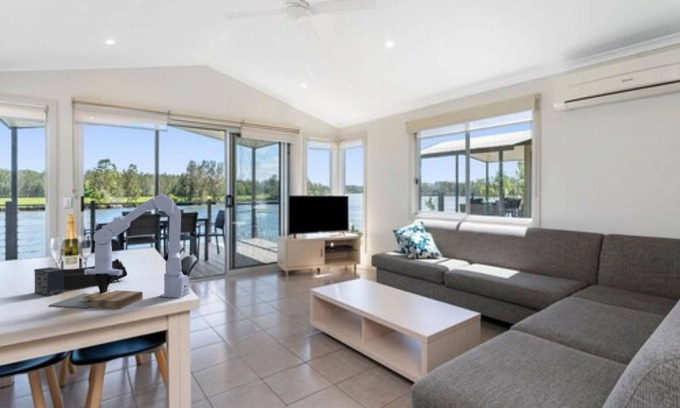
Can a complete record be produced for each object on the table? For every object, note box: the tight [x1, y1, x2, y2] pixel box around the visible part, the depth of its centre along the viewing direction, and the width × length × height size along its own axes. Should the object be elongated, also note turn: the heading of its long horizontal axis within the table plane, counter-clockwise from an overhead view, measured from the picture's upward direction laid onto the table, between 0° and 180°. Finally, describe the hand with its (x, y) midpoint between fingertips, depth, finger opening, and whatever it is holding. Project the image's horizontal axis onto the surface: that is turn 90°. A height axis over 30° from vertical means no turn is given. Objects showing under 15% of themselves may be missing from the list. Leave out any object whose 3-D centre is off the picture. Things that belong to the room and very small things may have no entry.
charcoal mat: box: [48, 292, 91, 309], centre depth 140 cm, size 16×16×1 cm
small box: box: [33, 266, 65, 297], centre depth 150 cm, size 11×6×10 cm, turn 65°
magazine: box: [56, 258, 128, 291], centre depth 161 cm, size 17×3×30 cm
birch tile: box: [82, 288, 111, 301], centre depth 140 cm, size 7×6×2 cm
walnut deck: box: [89, 289, 143, 310], centre depth 138 cm, size 12×13×3 cm
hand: (103, 292), depth 139 cm, fingers closed
